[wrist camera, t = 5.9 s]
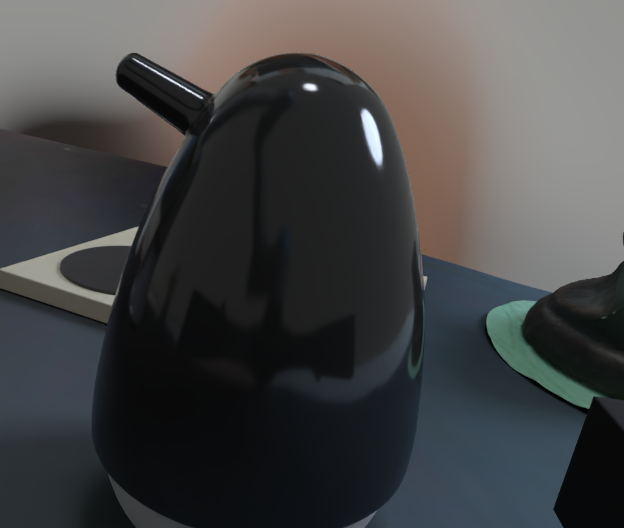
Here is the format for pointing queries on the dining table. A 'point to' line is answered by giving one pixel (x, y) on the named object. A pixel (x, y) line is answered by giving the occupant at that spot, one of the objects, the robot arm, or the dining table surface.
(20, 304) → the dining table surface
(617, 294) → the black green hat
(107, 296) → the hob plate
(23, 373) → the dining table surface
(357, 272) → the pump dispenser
